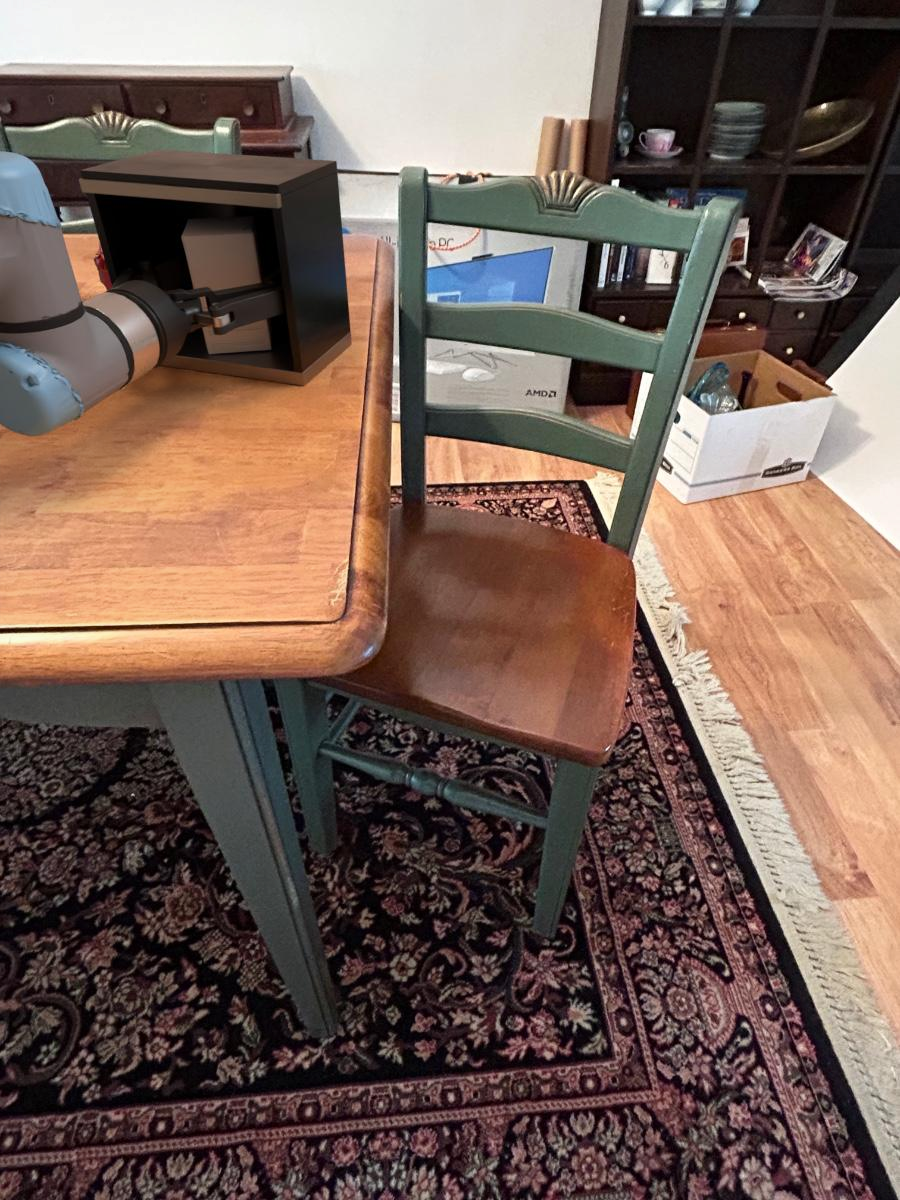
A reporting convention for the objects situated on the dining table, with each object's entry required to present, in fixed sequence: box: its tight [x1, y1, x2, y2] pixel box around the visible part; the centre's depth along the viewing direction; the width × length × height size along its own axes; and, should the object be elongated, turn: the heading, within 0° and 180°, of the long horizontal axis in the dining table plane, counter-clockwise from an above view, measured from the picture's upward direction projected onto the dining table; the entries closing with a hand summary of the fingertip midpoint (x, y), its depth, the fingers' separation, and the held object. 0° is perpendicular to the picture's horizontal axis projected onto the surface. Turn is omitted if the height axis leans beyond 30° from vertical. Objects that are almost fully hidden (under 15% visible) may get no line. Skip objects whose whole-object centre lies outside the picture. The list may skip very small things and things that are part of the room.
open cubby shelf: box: [78, 149, 353, 387], centre depth 81 cm, size 22×14×20 cm, turn 72°
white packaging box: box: [181, 216, 272, 354], centre depth 82 cm, size 7×7×13 cm
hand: (244, 268), depth 84 cm, fingers open, 13 cm apart
